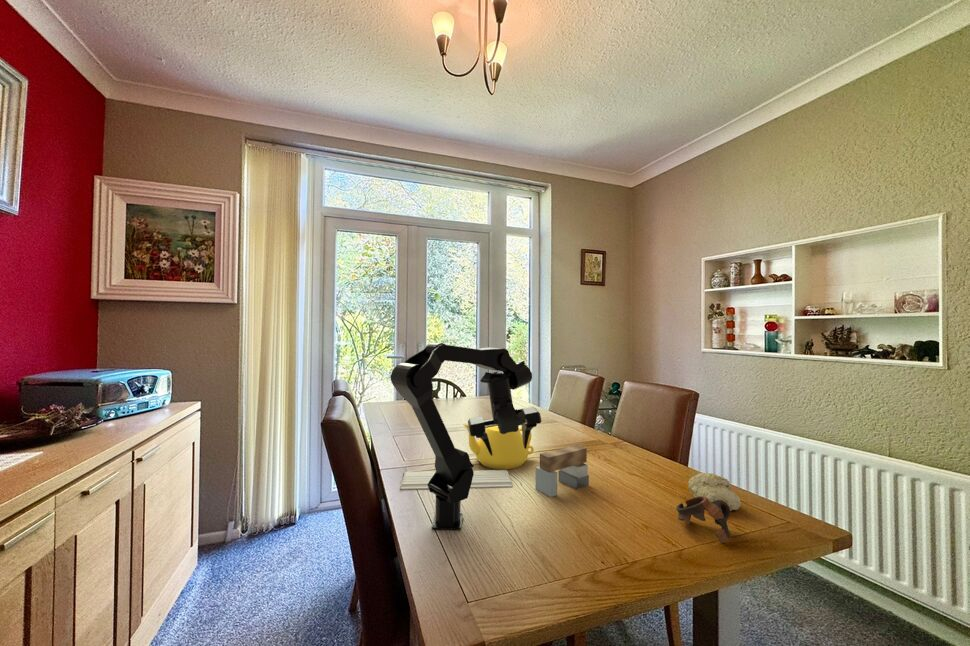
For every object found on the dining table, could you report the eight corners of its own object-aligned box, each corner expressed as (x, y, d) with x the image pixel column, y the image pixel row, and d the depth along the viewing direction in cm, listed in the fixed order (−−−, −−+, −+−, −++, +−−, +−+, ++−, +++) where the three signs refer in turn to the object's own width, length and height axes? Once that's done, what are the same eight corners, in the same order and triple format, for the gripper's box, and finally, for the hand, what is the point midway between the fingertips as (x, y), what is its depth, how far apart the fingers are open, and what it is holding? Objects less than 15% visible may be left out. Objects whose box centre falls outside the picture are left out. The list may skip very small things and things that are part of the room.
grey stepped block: (576, 489, 102) (576, 467, 102) (558, 481, 108) (558, 460, 108) (588, 485, 105) (588, 464, 105) (570, 477, 111) (570, 457, 111)
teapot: (467, 474, 112) (467, 429, 113) (457, 455, 130) (457, 416, 130) (543, 468, 118) (543, 425, 119) (524, 450, 136) (524, 413, 136)
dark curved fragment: (716, 552, 74) (693, 510, 77) (683, 549, 82) (663, 511, 85) (752, 525, 79) (729, 486, 82) (717, 525, 87) (697, 489, 90)
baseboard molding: (513, 491, 102) (506, 474, 114) (513, 481, 102) (507, 465, 114) (399, 494, 99) (405, 477, 111) (399, 483, 99) (405, 467, 111)
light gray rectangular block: (550, 497, 97) (550, 474, 98) (535, 488, 102) (535, 467, 102) (557, 494, 99) (557, 472, 99) (541, 487, 104) (542, 465, 104)
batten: (548, 472, 99) (548, 457, 99) (539, 468, 102) (539, 453, 102) (586, 462, 107) (586, 448, 107) (577, 458, 110) (577, 445, 110)
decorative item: (674, 484, 97) (691, 461, 102) (686, 512, 98) (702, 489, 103) (722, 495, 87) (739, 470, 92) (735, 527, 87) (751, 500, 93)
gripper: (468, 412, 87) (477, 474, 88) (543, 397, 89) (551, 458, 91) (464, 398, 98) (472, 453, 99) (531, 385, 100) (538, 440, 102)
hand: (508, 451), depth 97 cm, fingers open, 9 cm apart
